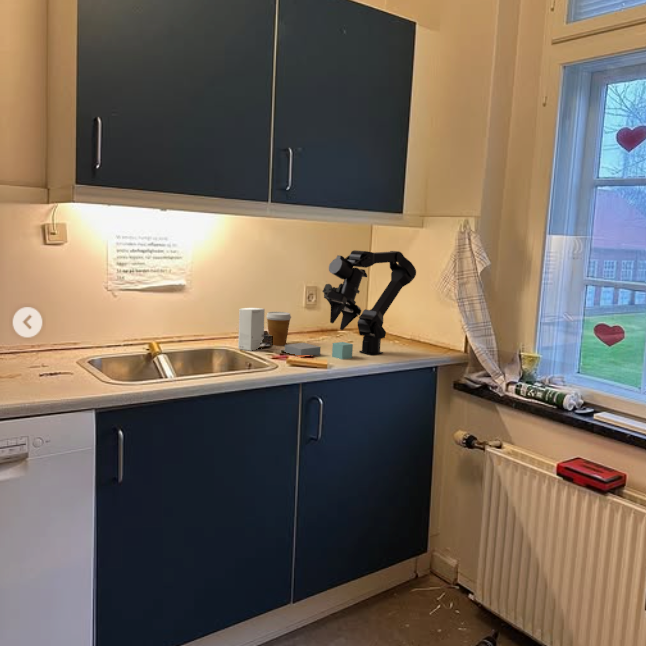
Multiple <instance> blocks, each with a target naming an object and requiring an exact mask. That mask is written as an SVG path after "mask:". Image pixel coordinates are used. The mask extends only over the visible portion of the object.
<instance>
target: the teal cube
mask: <svg viewBox="0 0 646 646" xmlns="http://www.w3.org/2000/svg"><path fill="white" fill-rule="evenodd" d="M353 348H354V344H353V343H350V342H345V341H339V342H332V348H331V349H332V350H331V351H332V352H331V357H332V358H335V359H338V358H339V359H338V360H346V359H353V351H354V350H353Z"/></svg>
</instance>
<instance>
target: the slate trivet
mask: <svg viewBox="0 0 646 646" xmlns="http://www.w3.org/2000/svg"><path fill="white" fill-rule="evenodd" d="M283 352H286V353H290V354H295V355H318V356H321V346H319V345H315V344H310V343H306V342H299V343H298V342H297V343H290V344H286V345H284V351H283Z"/></svg>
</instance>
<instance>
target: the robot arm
mask: <svg viewBox="0 0 646 646" xmlns="http://www.w3.org/2000/svg"><path fill="white" fill-rule="evenodd" d="M383 263H384V264H385V263H389V270H391V273H390V282H389V283H388V285H387V286H386V287H385V288H384V290H383V292H382V293H381V295H380V296H379V297H378V299H377V301H376V302H375V303H374V305H373V307H372V308H370V309H364V310H363V311H362V309H361V307H360V306H359V305H357V304H356V303H357V301H356V300H355V299H356V297H357V295H358V294H360V291H361V290H359V288H360V286H361V285H360V284H361V282H362V280H363V278H368V274H367V272H366V269H365V268H370V267H372V266H373V265H376V264H383ZM362 268H364V269H362ZM328 272H329V273H331V274H332V275H333V276H335V277H337V278H338V279H341V280H343V282H342V283H339V284H338V286H337V287H335V286H332V284H330V283H326V284H325V286H324V287H323V290H322V293H323V298H324V299H325V300H326V301H327V302H328V303H329V306H330V316H329V317H330V319H329V321H330V324H334V323H335V322H336V321H337V319H338V317H339V316H340V315H341V314H342V317H341V322H340V327H339V329H340V330H341V331H344V330H345V329H346V327H348V325H350V323H351V322H352V321H354V320H355V319H356V318H357V317H358V321H357V328H358V333H359V336H362V343H361V345H362V346H361V350H359V353H361V354H366V355H369V356H374V355H381V354H384V351H381V343H382V340H383V339H385V338H386V335H387V331H386V329H385V328H384V327H383V325H384V316H385V315H386V313H387V311H388V310H389V308H390V306H391V305H392V303H393V302H394V301H395V299H396V298H397V296H398V294H399V293H400V292H401V290H402V289H403V288H404V287H406V286H408V284H410V283H412V282H413V280H414V279H415V278H416V276H417V269H416V267H415V266H414V264H413V263H412V262H411V261H410V260H409V259H408V258H406V257H405V255H404V254H403V253H402V252H401V251H399V250H398V251H397V250H390V251H381V252H380V251H379V252H376V251H375V252H372V251H368V250H357V249H356V250H355V249H354V250H351V252H350V254H348V255H347V256H346V257H344V256H343V255H340V254H339V255H338V254H337V256H336V258H334V259H332V261H330V263H329V265H328Z"/></svg>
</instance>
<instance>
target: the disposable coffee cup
mask: <svg viewBox="0 0 646 646" xmlns="http://www.w3.org/2000/svg"><path fill="white" fill-rule="evenodd" d="M265 317H266V321H267V322H266V323H267V330H268V331H267V332H268V333H269V334H270V335H272V336H273V345H274V347H275V346H276V347H282V346H284V347H285V345H287V338H288V333H289V327H290V321H291V319H292V316H291V313H290V312H285V311H268V312H267V313H266V315H265ZM269 334H268V335H269ZM273 345H272V346H273Z"/></svg>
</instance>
